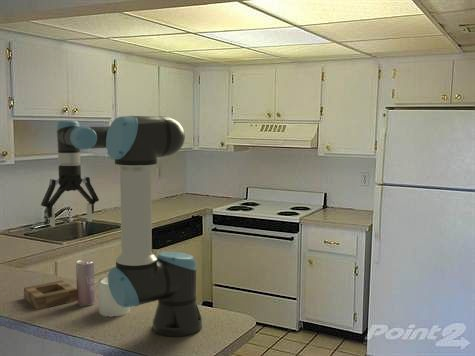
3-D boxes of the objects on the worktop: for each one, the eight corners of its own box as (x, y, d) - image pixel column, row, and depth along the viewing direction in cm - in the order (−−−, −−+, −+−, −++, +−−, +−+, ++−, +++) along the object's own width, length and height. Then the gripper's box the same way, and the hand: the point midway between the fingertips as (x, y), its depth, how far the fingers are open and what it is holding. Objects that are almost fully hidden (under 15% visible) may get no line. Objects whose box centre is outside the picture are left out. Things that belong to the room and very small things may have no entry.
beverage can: (88, 299, 184) (87, 258, 182) (98, 303, 180) (97, 261, 179) (73, 303, 179) (72, 261, 178) (83, 307, 176) (82, 265, 174)
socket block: (77, 300, 183) (77, 289, 182) (37, 309, 174) (37, 297, 174) (62, 290, 194) (62, 280, 193) (24, 298, 185) (23, 287, 184)
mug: (96, 304, 179) (96, 274, 178) (126, 301, 182) (125, 271, 181) (100, 318, 166) (99, 286, 165) (132, 314, 170) (131, 283, 168)
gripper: (98, 162, 193) (99, 218, 195) (29, 165, 177) (32, 226, 179) (106, 163, 187) (108, 220, 189) (37, 167, 171) (40, 229, 173)
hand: (71, 223), depth 184 cm, fingers open, 13 cm apart
